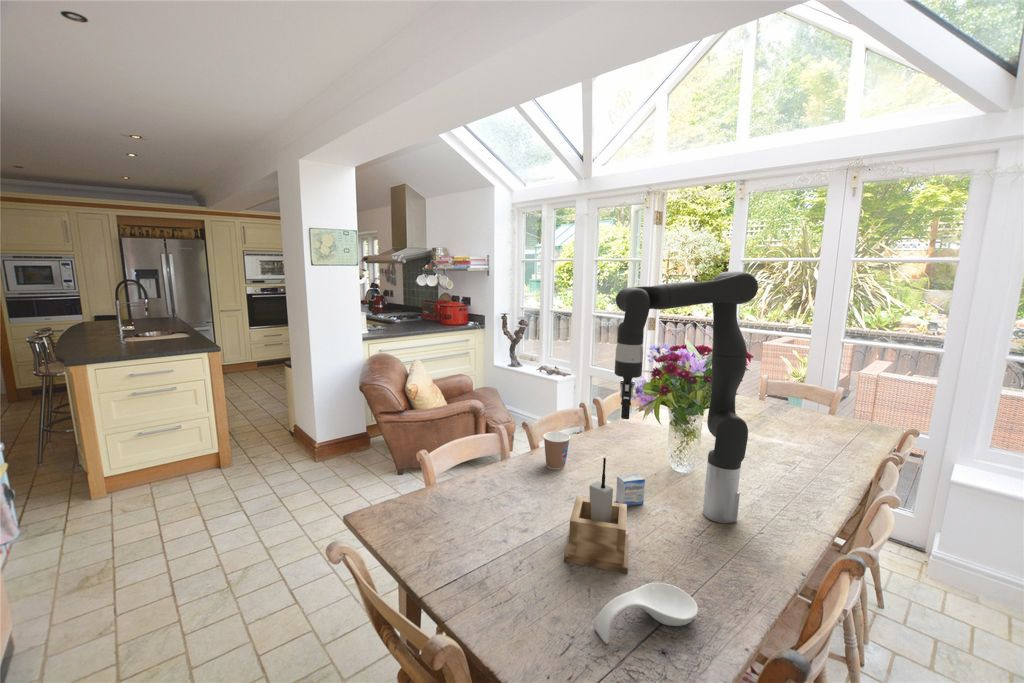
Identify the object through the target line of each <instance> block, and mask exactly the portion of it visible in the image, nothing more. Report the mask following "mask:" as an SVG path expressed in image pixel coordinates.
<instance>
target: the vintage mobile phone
mask: <svg viewBox="0 0 1024 683" xmlns="http://www.w3.org/2000/svg"><path fill="white" fill-rule="evenodd" d="M606 459H607V458H606V457H603V458H602V460H603V462H602V474H601V481H596V482H593V483H592V484H590V485H589V499H590V505H591V520H594V521H600V522H606V523H611V515H612V502H613V498H614V497H613V496H614V494H613V493H614V488H613V487H612V486H609V485H607V484H606V461H607V460H606Z"/></svg>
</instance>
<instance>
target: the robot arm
mask: <svg viewBox="0 0 1024 683" xmlns="http://www.w3.org/2000/svg"><path fill="white" fill-rule="evenodd" d="M758 291H759V283H758V281H757V279H756V277H755V276H754V275H753V274H751V273H749V272H745V271H723V272H720V273H718V275H717V276H716V277H715V278H714V280H709V281H707V280H704V281H683V282H682V281H681V282H672V283H662V284H657V285H652V286H650V285H649V286H631V287H625V288H623V289H621V290H619V292H618V293H617V295H616V297H615V304H616V306H617V308H618V309H619V310H621V311H622V312H624V317H623V321H622V322H620V323H619V324H618V327H617V342H616V349H615V358H614V375H616V376H617V377H622V378H623V380H622V379H621V380H620V383H619V389H620V394H619V395H620V396H619V397H620V399H621V402H620V405H621V412H620V413H621V414H620V418H621V419H622V420H629V419H630V413H631V412H630V410H631V406H632V402H631V401H632V400H633V398H634V390H635V382H636V381H634V380H633V379H634V378H635V379H636V378H641V377H642V376H643V375H642V374H643V365H644V364H643V363H644V360H643V359H644V334H645V331H644V330H645V326H646V324H647V320H648V317H649V314H650V310H658V311H659V310H660V311H661V310H669V309H670V310H671V309H676V308H677V309H678V308H682V307H683V308H684V307H689V306H690V307H691V306H696V305H697V306H698V305H704V304H712V316H713V317H712V318H713V322H712V323H713V325H712V326H713V327H712V334H713V335H712V352H711V355H712V356H711V379H710V380H711V383H710V384H711V387H710V388H711V390H710V391H711V392H710V401H709V408H708V412H707V413H708V414H707V421H706V422H707V423H706V424H707V430H708V431H709V433H710V434H711V435H712V436H713V437H714V438H715V440H714V447H713V448H714V449H712V450H709V452H708V453H707V462H706V463H707V464H706V465H707V466H706V473H705V484H704V494H703V503H702V504H703V505H702V514H703V515H704V517H706V518H707V519H709V520H711V521H713V522H716V523H721V524H732V523H737V521H738V514H739V505H740V495H741V494H740V492H739V486H740V476H741V469H742V468H741V467H742V462H743V461H744V460H745V457H746V452H747V445H748V439H749V429H748V425H747V423H746V421H745V420H744V419H743V418H741V417H740V416H738V415H737V414H736V396H737V391H738V389H739V387H740V385H741V383H742V381H743V378H744V376H745V373H746V368H747V355H748V354H747V345H746V340H745V338H744V336H743V333H742V331H741V328H740V326H739V322H738V316H737V314H738V313H737V312H738V310H737V309H738V305H744V304H747V303H749V302H751V301H752V300H753V299H754V298H755V297H756V295H757V293H758Z"/></svg>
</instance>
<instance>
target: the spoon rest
mask: <svg viewBox="0 0 1024 683" xmlns="http://www.w3.org/2000/svg"><path fill="white" fill-rule="evenodd" d="M636 607H637V608H641V610H643V611H644V612H646V613H647V614H648V615H650V617H651V618H653V619H655V620H656V621H657V622H659V623H660V624H663V625H665V626H668V627H669V626H670V627H671V626H672V627H680V626H685V625H687V624H690V623H691V622H692V621H694V620H695V618H697V616H698V614H699V606H698V604H697V603H696V600H694V599H693V597H692V596H691V595H690V594H688V592H686V591H685V590H683V589H681V588H679V587H678V586H675V585H672V584H669V583H664V582H649V583H646V584H643V585H642V586H639V587H636V588H635V589H632V590H629V591H627V592H623V593H621V594H619V595H618V596H616V597H614V598H612V599H611V600H609V601H608V603H607V604H606V605H604V606H603V608H602V609H601V610H600V611H599V613H598V615H597V616H596V619H595V620H594V624H593V625H594V630H595V632H596V633H597V634H598V636H599V637H600V639H601V640H602V641H603V642H604V644H607V645H608V644H609V643H610V636H611V635H610V634H611V628H612V625H613V623H614V621H615V619H616V618H617V617H618V616H619V615H620V614H621V613H622V612H624V611H626V610H628V609H630V608H636Z"/></svg>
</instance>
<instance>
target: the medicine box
mask: <svg viewBox="0 0 1024 683" xmlns="http://www.w3.org/2000/svg"><path fill="white" fill-rule="evenodd" d="M645 487H646V479H645V478H644V477H642V475H640V474H639V473H637V474H629V475H620V476H617V477H616V491H615V492H616V493H615V494H616V495H615V501H616V503H621V504H627V507H631V506H637V505H644V503H645V502H644V501H645V489H646V488H645Z"/></svg>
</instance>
